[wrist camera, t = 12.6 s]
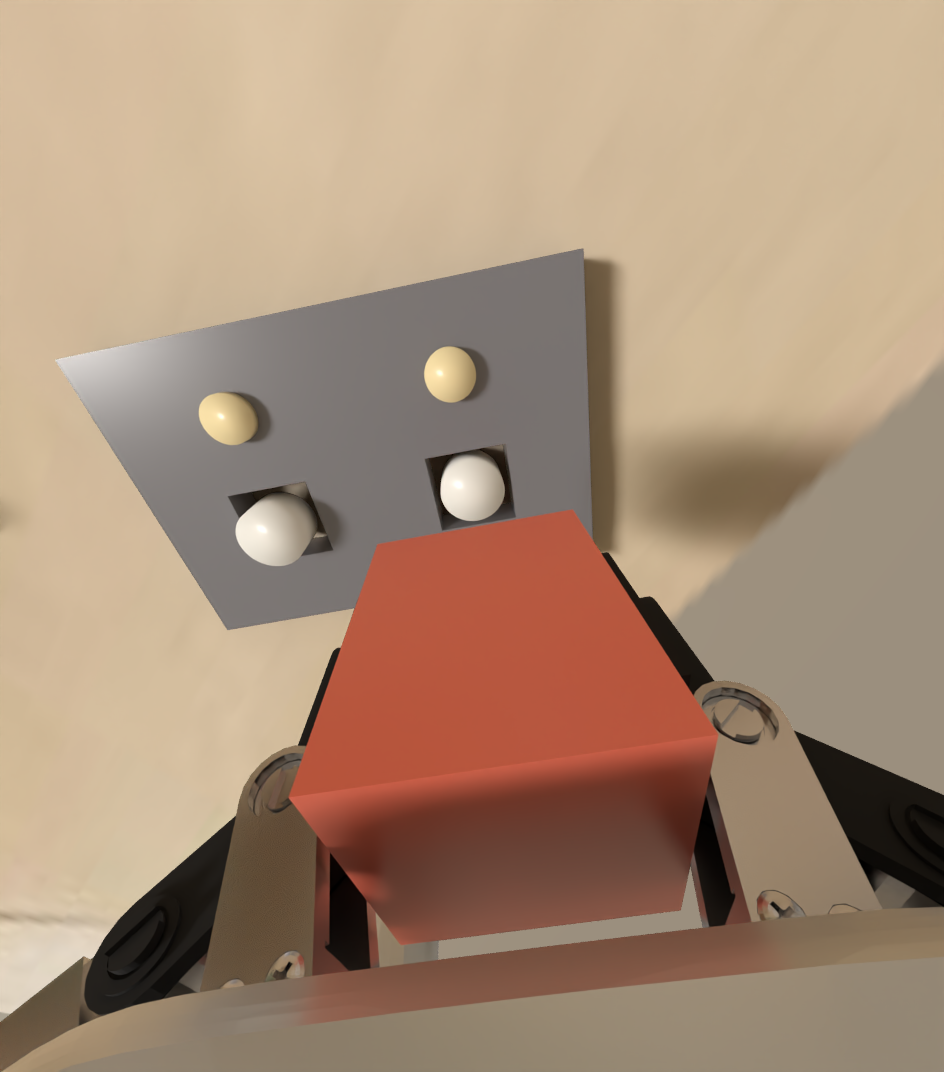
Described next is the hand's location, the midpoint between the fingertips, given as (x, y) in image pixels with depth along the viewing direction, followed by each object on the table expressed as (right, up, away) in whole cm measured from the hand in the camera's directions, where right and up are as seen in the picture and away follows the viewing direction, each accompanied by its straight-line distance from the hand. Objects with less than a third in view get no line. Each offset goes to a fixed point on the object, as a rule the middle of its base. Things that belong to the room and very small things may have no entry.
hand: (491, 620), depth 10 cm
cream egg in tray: (-1, +5, +11) cm, 12 cm away
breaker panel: (-6, +6, +10) cm, 13 cm away
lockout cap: (0, 0, +1) cm, 1 cm away
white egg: (-10, +3, +10) cm, 15 cm away
